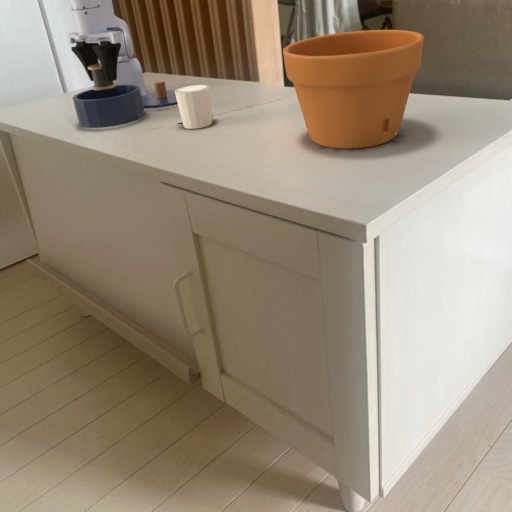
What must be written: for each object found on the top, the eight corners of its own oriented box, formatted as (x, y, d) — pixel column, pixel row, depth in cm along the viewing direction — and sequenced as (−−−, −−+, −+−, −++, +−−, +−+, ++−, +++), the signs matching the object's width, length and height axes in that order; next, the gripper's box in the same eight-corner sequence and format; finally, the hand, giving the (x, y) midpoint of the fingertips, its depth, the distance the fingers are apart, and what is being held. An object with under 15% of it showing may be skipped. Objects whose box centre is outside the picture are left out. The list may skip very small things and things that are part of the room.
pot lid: (180, 91, 134) (177, 72, 132) (204, 100, 123) (201, 79, 121) (123, 103, 129) (119, 83, 126) (143, 114, 117) (138, 92, 115)
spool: (112, 83, 114) (107, 61, 112) (119, 86, 110) (114, 63, 108) (90, 88, 112) (85, 65, 110) (96, 91, 109) (90, 68, 106)
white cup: (220, 119, 107) (215, 83, 104) (206, 129, 101) (201, 91, 98) (189, 119, 109) (183, 84, 106) (174, 129, 104) (167, 92, 100)
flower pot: (345, 167, 77) (342, 59, 70) (265, 138, 93) (256, 47, 86) (447, 132, 86) (455, 33, 79) (358, 111, 102) (358, 27, 95)
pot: (133, 108, 123) (128, 81, 120) (153, 119, 112) (148, 90, 109) (74, 121, 118) (66, 93, 115) (89, 134, 107) (81, 104, 104)
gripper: (47, 12, 106) (66, 83, 112) (94, 9, 98) (111, 86, 104) (76, 7, 110) (92, 76, 117) (123, 4, 102) (138, 78, 109)
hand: (103, 80), depth 111 cm, fingers closed on spool, 4 cm apart
